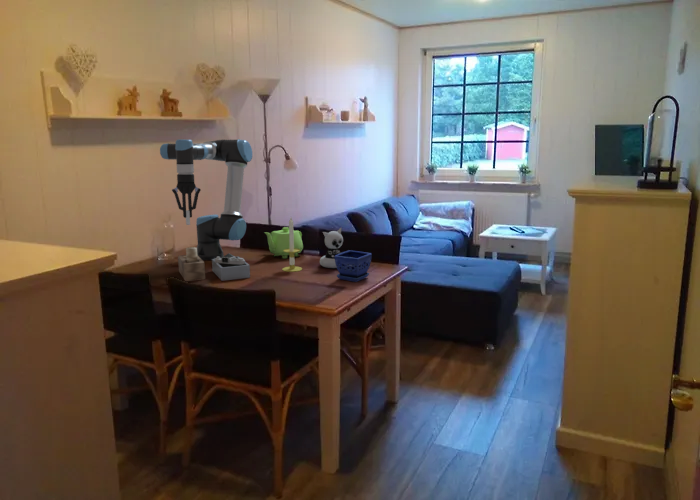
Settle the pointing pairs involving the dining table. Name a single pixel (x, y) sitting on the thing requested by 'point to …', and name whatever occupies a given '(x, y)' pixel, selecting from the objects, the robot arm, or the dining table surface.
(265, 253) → the dining table surface
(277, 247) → the teapot
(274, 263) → the dining table surface
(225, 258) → the camera
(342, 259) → the flower pot
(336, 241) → the decorative figurine
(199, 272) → the beige slotted holder
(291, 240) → the candle
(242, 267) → the caddy
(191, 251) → the cream rounded upright piece
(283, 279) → the dining table surface
